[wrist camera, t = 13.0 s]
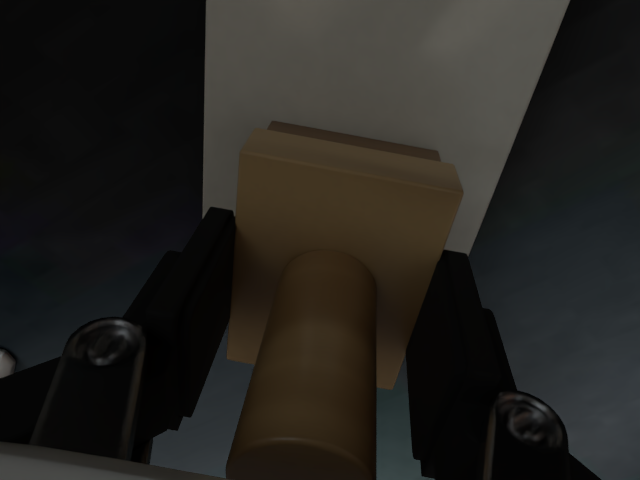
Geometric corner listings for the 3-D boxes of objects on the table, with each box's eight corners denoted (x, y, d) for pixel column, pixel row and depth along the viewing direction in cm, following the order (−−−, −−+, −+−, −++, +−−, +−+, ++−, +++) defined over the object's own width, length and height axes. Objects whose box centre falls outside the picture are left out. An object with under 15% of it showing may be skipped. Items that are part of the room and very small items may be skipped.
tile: (223, -145, 10) (206, -156, 9) (582, -81, 10) (605, -83, 9) (210, 280, 17) (199, 302, 16) (430, 320, 17) (434, 345, 16)
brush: (264, 110, 12) (136, 307, 6) (448, 144, 12) (531, 382, 6) (247, 299, 16) (156, 554, 9) (390, 325, 16) (399, 599, 9)
